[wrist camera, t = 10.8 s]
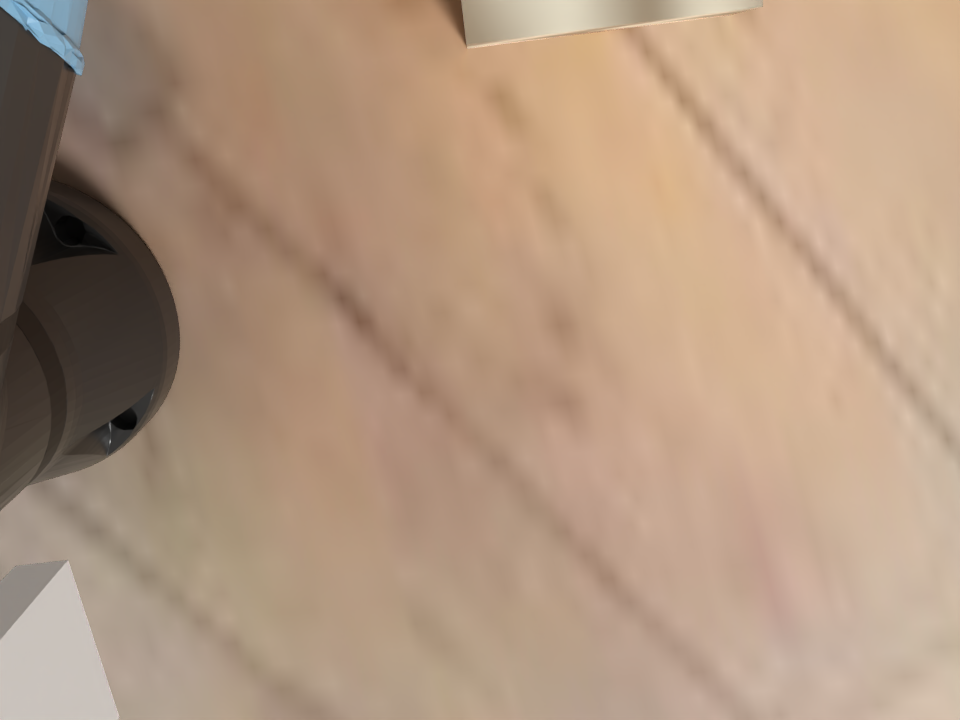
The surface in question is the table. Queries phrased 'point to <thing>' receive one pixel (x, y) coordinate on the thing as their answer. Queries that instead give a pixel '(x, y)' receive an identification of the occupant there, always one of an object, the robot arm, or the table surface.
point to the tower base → (580, 16)
